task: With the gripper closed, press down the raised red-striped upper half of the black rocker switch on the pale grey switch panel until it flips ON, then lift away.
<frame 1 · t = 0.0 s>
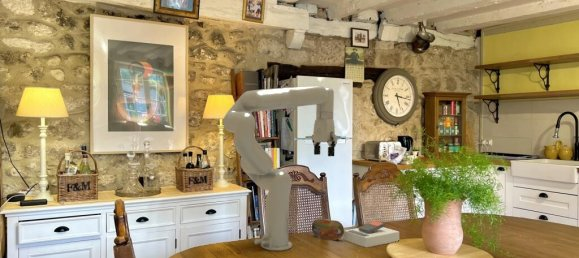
hand: (323, 155, 188), 37 cm above the table, tool pointing down, fingers open, 9 cm apart
switch panel: (371, 240, 188), on the table
tin: (327, 238, 190), on the table
rocker: (371, 226, 188), point 6 cm above the table, hinge at -10.0°
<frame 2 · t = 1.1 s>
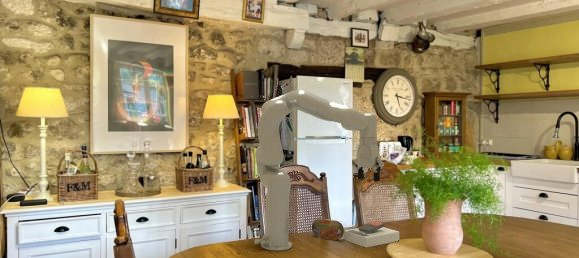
hand: (368, 180, 189), 26 cm above the table, tool pointing down, fingers open, 9 cm apart
nothing on the table moved.
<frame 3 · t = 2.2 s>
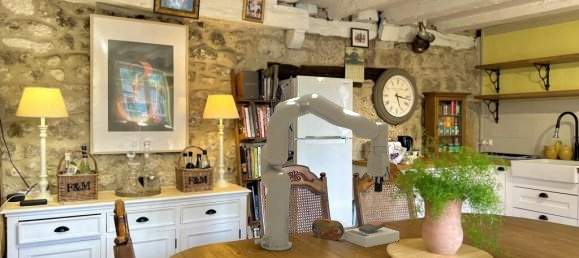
hand: (378, 191, 189), 21 cm above the table, tool pointing down, fingers closed
nothing on the table moved.
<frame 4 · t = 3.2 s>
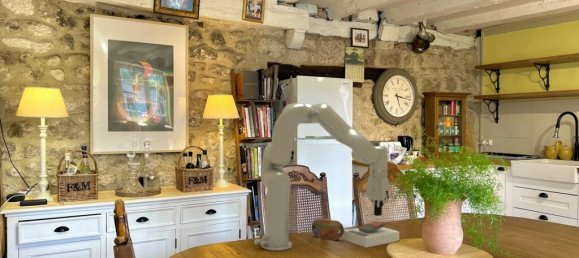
hand: (377, 215, 190), 11 cm above the table, tool pointing down, fingers closed
nothing on the table moved.
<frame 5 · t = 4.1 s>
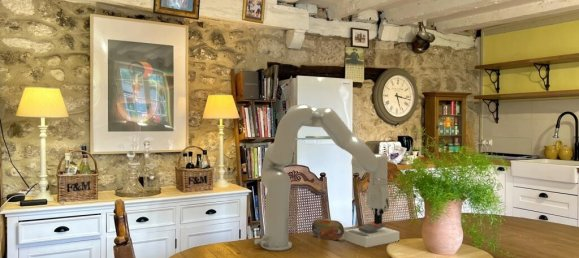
hand: (378, 223, 190), 7 cm above the table, tool pointing down, fingers closed
rocker: (371, 226, 188), point 6 cm above the table, hinge at -9.0°, touching gripper
everything else where it was.
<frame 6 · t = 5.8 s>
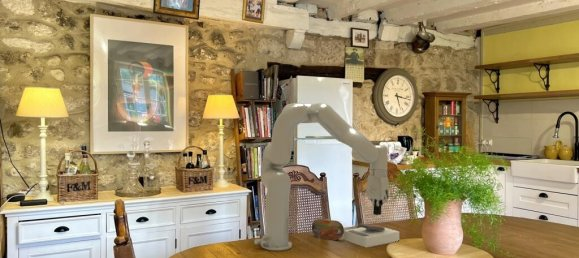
hand: (377, 214, 190), 11 cm above the table, tool pointing down, fingers closed
rocker: (371, 226, 188), point 6 cm above the table, hinge at 10.9°
everything else where it was.
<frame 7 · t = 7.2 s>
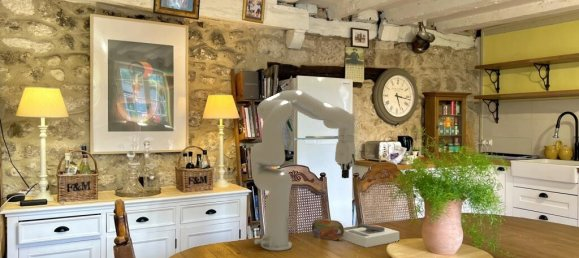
hand: (345, 177, 204), 25 cm above the table, tool pointing down, fingers closed
rocker: (371, 226, 188), point 6 cm above the table, hinge at 11.6°
everything else where it was.
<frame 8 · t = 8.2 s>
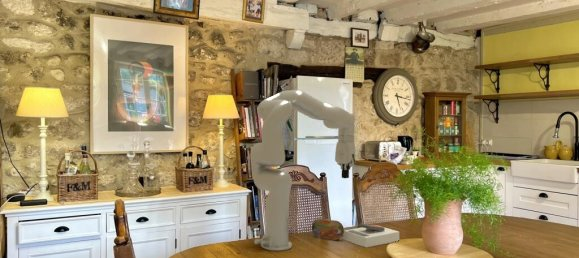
hand: (345, 177, 204), 25 cm above the table, tool pointing down, fingers closed
nothing on the table moved.
at the end: rocker at +12° (first picture: -10°); tin moved 0.7 cm from its start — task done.
